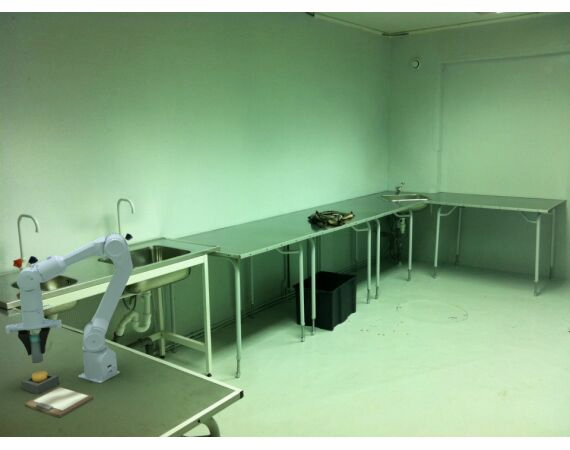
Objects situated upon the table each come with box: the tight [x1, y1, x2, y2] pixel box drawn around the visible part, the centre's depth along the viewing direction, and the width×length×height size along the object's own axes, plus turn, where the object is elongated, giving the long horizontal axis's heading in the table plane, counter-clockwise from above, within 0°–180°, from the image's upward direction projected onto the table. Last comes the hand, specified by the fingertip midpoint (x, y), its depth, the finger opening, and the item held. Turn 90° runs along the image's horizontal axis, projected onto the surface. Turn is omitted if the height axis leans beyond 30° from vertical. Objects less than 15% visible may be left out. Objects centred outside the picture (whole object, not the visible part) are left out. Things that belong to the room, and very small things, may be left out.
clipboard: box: [24, 386, 94, 418], centre depth 143 cm, size 14×11×1 cm
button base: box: [20, 372, 60, 395], centre depth 152 cm, size 7×7×2 cm
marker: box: [29, 333, 44, 364], centre depth 153 cm, size 3×3×8 cm
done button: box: [31, 370, 48, 383], centre depth 152 cm, size 4×4×2 cm
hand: (36, 353), depth 153 cm, fingers closed on marker, 3 cm apart
